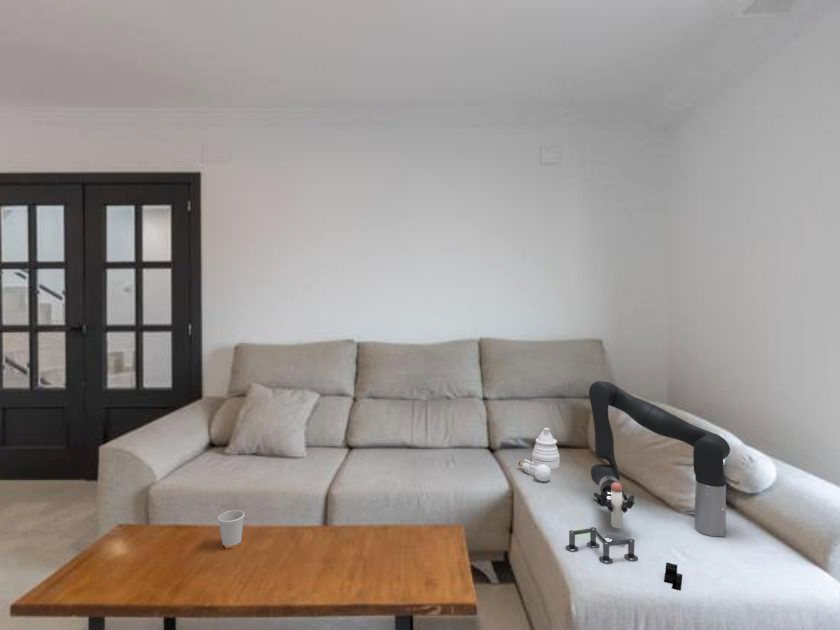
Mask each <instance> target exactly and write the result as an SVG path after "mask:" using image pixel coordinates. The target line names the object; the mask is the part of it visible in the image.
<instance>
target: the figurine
mask: <svg viewBox="0 0 840 630" xmlns="http://www.w3.org/2000/svg"><path fill="white" fill-rule="evenodd" d="M523 461H524V462H523ZM523 461H521V460H520V461H519V462H518V466H519V467H521V468H522V469H523V470H524V472H525V473H527V474H529V475H531V476H534V478H536V480H538V481H539V482H542V483H543V482H544V483H545V482H547V481H549V480H550V478H551V476H552V469H549V467H548V466H546V465H542V464H540V465H538V466H537V467H536V466H534V465H533V462H532V460H529V459H526V458H525V459H524V460H523Z"/></svg>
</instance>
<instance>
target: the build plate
mask: <svg viewBox="0 0 840 630" xmlns="http://www.w3.org/2000/svg"><path fill="white" fill-rule="evenodd" d="M664 570H665V571H664V572H665V573H664V577H663V582H664V583H666V584H671V589H672V590H675V591H679V592H680V591H681V592H682V583H683V574H682V573H678V564H675V563H671V562H667V561H666V563H665V569H664Z"/></svg>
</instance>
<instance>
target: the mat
mask: <svg viewBox="0 0 840 630" xmlns="http://www.w3.org/2000/svg"><path fill="white" fill-rule="evenodd" d="M603 538H609V539H612V541H621V540H628V539H630V538H628V537H624V536H621V535H617V534H613V533H609V532H607V533H606V534H605V536H604V537H603ZM616 547H621V548H625V547H626V544H625V545H616Z"/></svg>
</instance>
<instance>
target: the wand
mask: <svg viewBox="0 0 840 630" xmlns="http://www.w3.org/2000/svg"><path fill="white" fill-rule="evenodd" d="M618 482H619V481H618ZM618 482H614V483H613V484H612V485H611V503H612V505H613V512H610V513H611V514H610V515H611V517H610V518H611V519H610V520H611V524H610V525H611V526H612V528H616V529H621V528H623V511H622V490H623V486H622V484H621V483H620V482H619V483H618Z"/></svg>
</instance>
